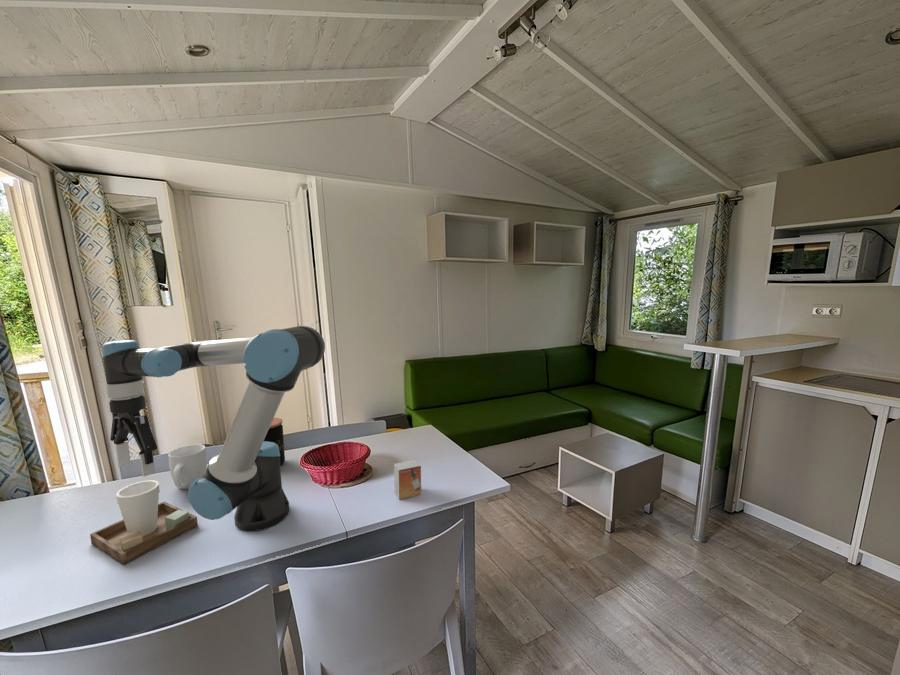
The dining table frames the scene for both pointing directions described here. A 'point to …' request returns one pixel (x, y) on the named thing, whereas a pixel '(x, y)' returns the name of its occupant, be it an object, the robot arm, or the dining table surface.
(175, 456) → the mug
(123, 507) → the foam cup
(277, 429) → the coffee jar
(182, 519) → the block
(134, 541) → the block
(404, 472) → the small box
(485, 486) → the dining table surface
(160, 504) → the tray
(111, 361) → the robot arm
